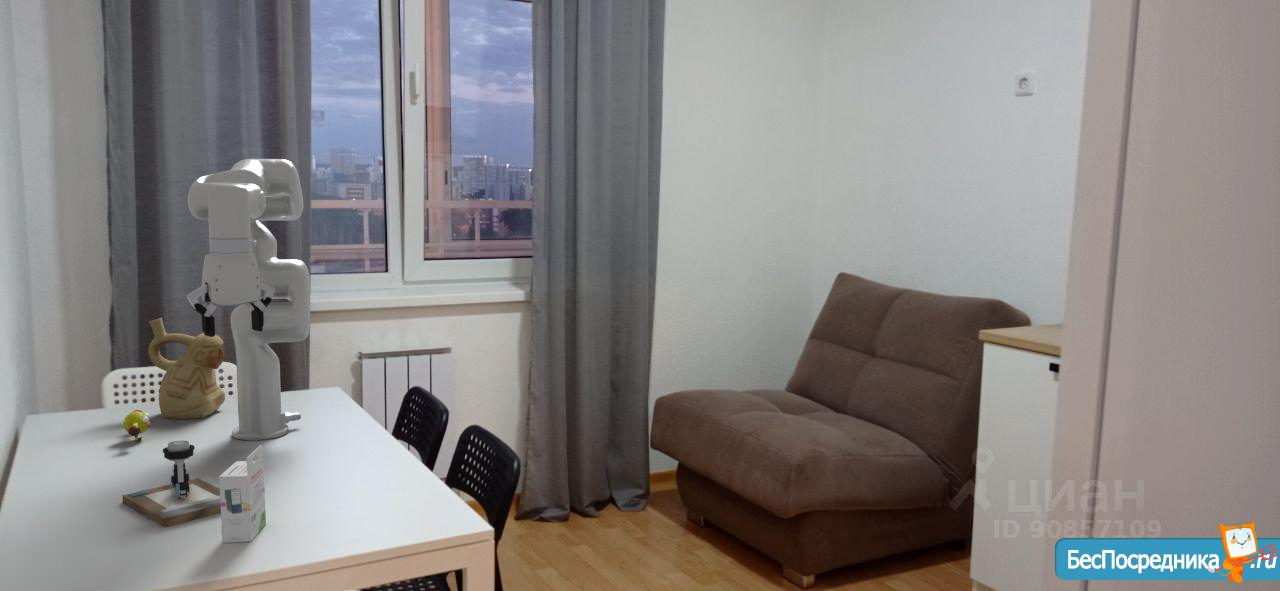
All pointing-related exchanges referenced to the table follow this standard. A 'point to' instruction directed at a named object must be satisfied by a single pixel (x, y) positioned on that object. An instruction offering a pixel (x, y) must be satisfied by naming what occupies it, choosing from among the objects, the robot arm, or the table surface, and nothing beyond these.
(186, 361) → the ceramic vessel
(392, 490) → the table surface
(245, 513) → the ink box
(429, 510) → the table surface
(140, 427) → the toy figure
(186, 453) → the push button
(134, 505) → the brown flat wooden tray
